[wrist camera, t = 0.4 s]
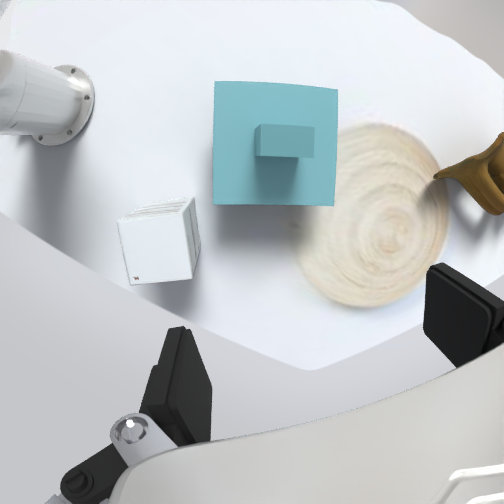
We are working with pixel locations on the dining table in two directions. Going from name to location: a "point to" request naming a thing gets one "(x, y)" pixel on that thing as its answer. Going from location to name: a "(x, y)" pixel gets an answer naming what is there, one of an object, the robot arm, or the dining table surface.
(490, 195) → the brown looped sculpture
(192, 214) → the supplement box
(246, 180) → the lid
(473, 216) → the dining table surface
